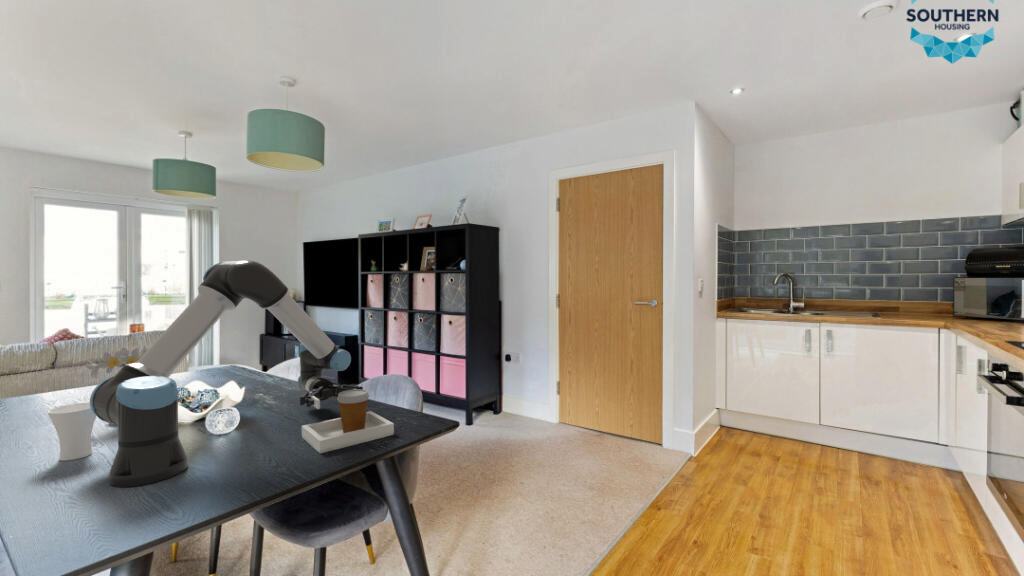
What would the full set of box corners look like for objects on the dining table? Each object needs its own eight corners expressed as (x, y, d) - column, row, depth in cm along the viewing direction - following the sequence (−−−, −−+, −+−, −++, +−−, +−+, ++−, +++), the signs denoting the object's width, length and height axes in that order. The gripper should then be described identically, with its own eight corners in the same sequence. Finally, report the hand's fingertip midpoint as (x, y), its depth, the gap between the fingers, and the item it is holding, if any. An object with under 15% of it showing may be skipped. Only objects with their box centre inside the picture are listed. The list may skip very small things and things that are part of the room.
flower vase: (80, 426, 147) (77, 351, 146) (144, 411, 164) (142, 343, 163) (102, 431, 142) (100, 353, 141) (166, 415, 159) (164, 345, 158)
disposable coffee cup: (367, 435, 134) (366, 396, 134) (334, 437, 133) (333, 397, 133) (372, 425, 144) (371, 388, 143) (341, 426, 142) (340, 389, 142)
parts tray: (320, 453, 123) (319, 440, 123) (301, 437, 136) (301, 425, 136) (393, 434, 137) (393, 423, 137) (371, 421, 150) (370, 411, 150)
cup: (51, 455, 123) (50, 407, 123) (103, 446, 130) (101, 400, 129) (45, 467, 115) (44, 415, 115) (100, 456, 122) (99, 407, 121)
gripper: (354, 392, 165) (378, 404, 149) (281, 405, 149) (299, 420, 133) (354, 372, 165) (378, 382, 149) (281, 383, 149) (298, 395, 133)
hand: (341, 400), depth 141 cm, fingers open, 13 cm apart
